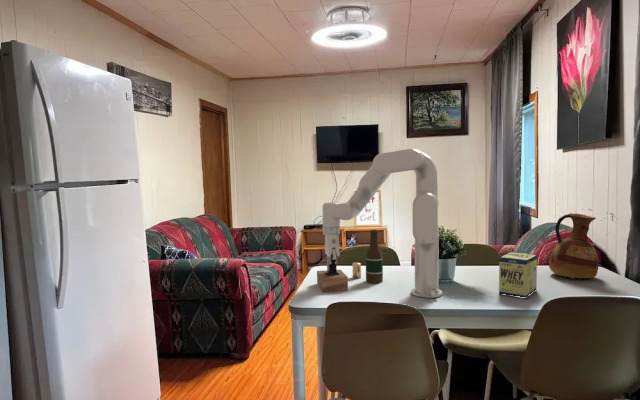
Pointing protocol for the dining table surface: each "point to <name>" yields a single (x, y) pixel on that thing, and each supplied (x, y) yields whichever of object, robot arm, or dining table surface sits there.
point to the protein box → (517, 274)
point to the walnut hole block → (332, 281)
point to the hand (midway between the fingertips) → (331, 271)
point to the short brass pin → (356, 270)
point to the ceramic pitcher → (574, 250)
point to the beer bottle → (374, 260)
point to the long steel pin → (328, 267)
